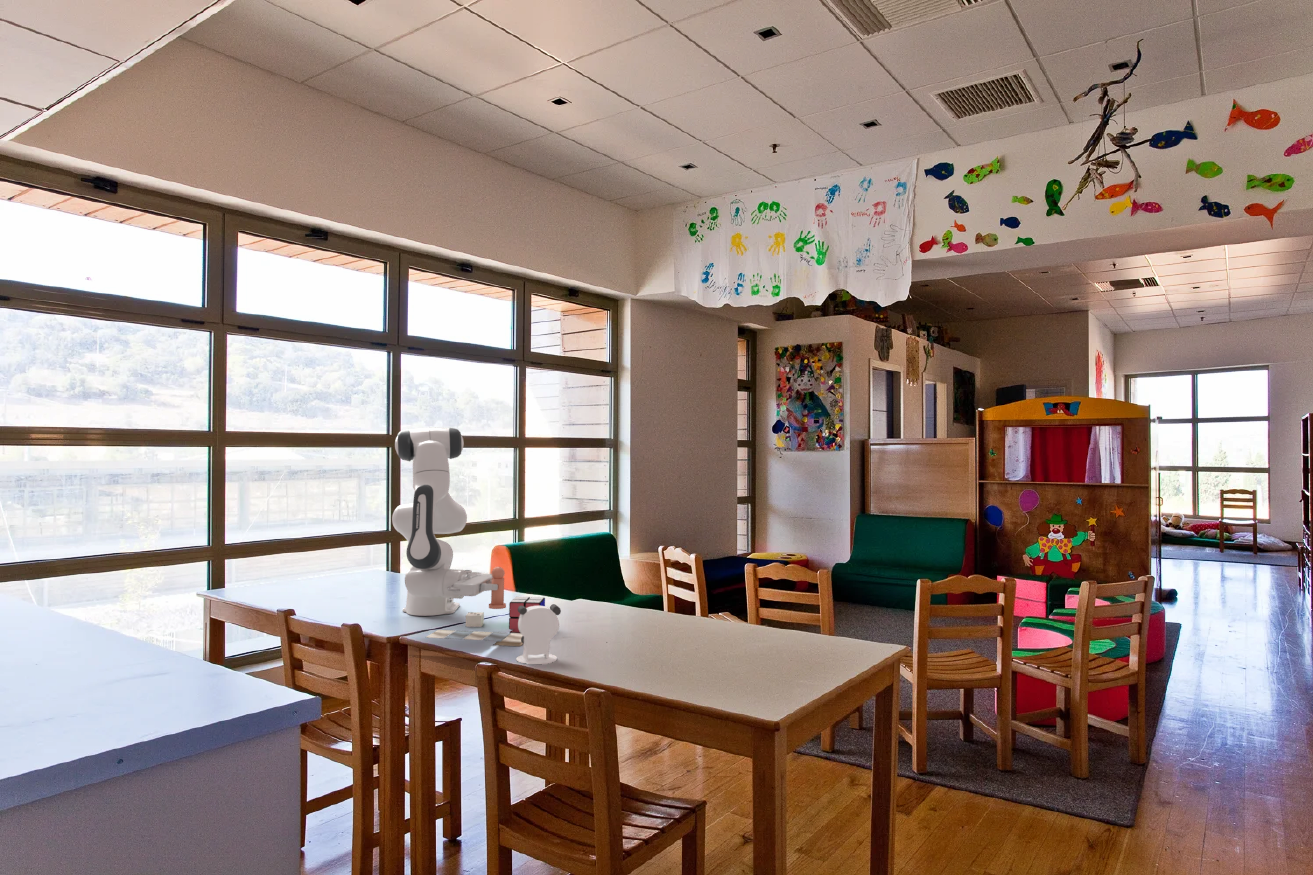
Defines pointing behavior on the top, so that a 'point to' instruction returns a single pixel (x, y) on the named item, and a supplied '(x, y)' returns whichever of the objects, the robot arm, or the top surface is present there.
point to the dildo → (498, 595)
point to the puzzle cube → (521, 601)
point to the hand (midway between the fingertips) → (500, 585)
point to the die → (474, 619)
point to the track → (481, 636)
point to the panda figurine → (537, 633)
